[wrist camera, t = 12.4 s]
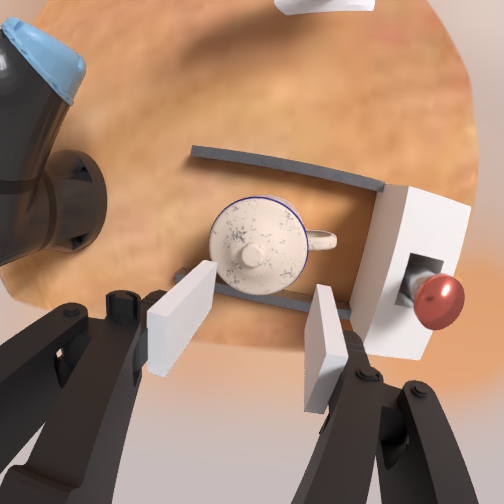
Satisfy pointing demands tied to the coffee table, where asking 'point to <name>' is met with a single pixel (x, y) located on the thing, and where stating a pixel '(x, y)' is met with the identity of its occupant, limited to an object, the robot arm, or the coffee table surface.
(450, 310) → the red knob
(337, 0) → the heart sculpture
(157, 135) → the coffee table surface
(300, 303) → the pair of grey rails
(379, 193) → the end cabinet
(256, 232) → the teacup with lid
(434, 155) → the coffee table surface
